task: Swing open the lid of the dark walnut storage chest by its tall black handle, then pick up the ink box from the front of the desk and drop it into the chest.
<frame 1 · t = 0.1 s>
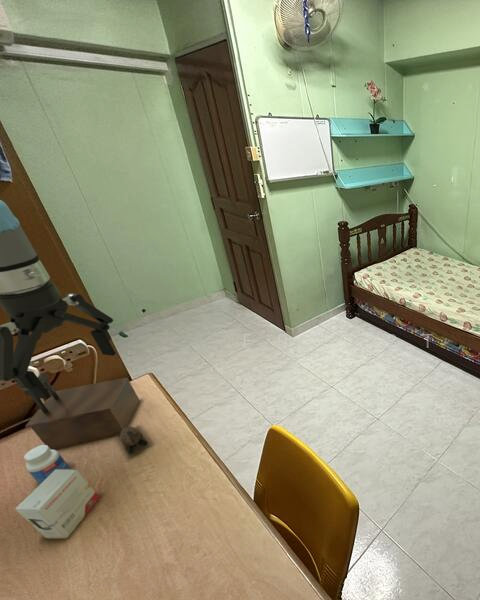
hand: (79, 373, 68), 30 cm above the table, tool pointing down, fingers open, 13 cm apart
chest: (99, 425, 91), on the table
figurine: (138, 447, 85), on the table
lid: (73, 389, 84), point 14 cm above the table, hinge at 0.0°
ink box: (75, 518, 70), on the table
pill bottle: (57, 477, 78), on the table
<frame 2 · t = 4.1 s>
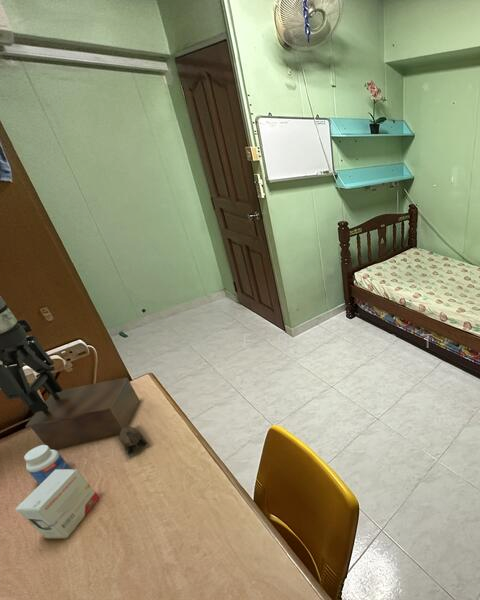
hand: (48, 400, 83), 12 cm above the table, tool pointing down, fingers closed on lid, 6 cm apart
lid: (73, 389, 84), point 15 cm above the table, hinge at 0.0°, touching gripper
everything else where it was.
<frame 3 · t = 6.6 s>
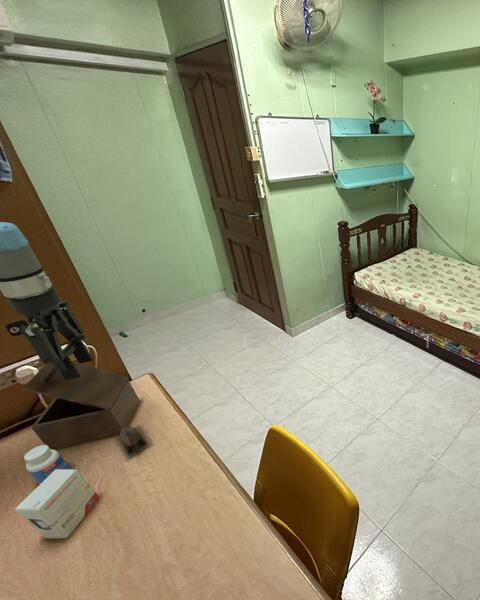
hand: (79, 369, 82), 21 cm above the table, tool pointing down, fingers closed on lid, 6 cm apart
lid: (89, 371, 83), point 19 cm above the table, hinge at 42.6°, touching gripper
everything else where it was.
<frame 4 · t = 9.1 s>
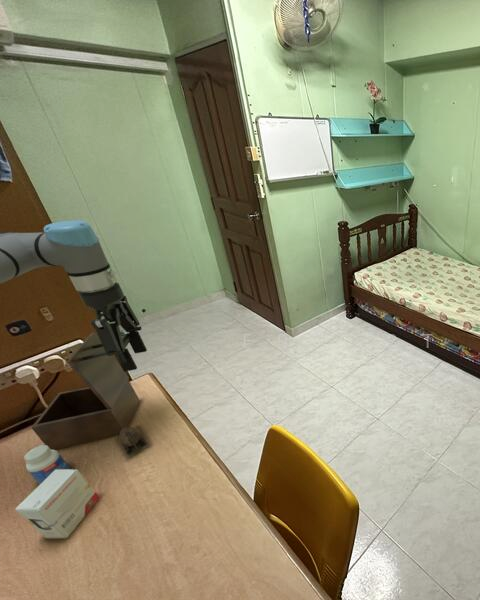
hand: (136, 360, 86), 20 cm above the table, tool pointing down, fingers open, 7 cm apart
lid: (119, 365, 85), point 19 cm above the table, hinge at 83.5°
everything else where it was.
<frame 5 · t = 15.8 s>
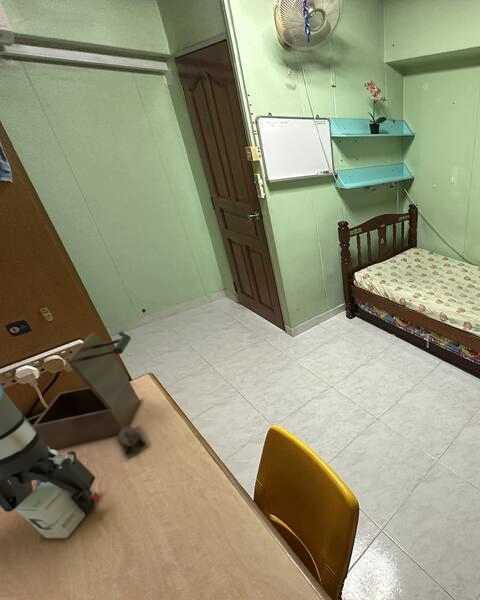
hand: (70, 513, 69), 2 cm above the table, tool pointing down, fingers closed on ink box, 6 cm apart
ink box: (76, 518, 70), on the table, touching gripper
everything else where it was.
when the fingers open (11 cm above the table, at t = 24.4 s): ink box drops 8 cm, resting on chest.
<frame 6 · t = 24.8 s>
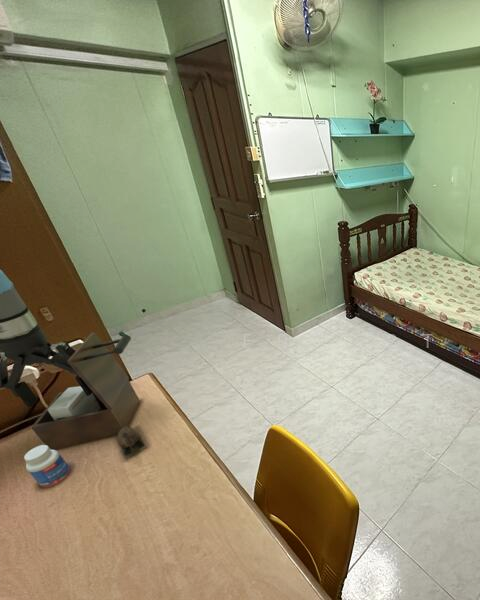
hand: (62, 397, 84), 12 cm above the table, tool pointing down, fingers open, 12 cm apart
ink box: (87, 426, 90), point 1 cm above the table, touching chest
everything else where it was.
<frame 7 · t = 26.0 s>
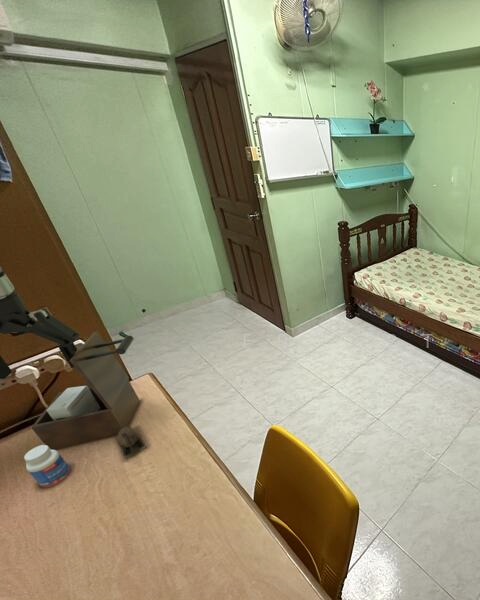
hand: (42, 369, 79), 22 cm above the table, tool pointing down, fingers open, 13 cm apart
lid: (121, 365, 86), point 19 cm above the table, hinge at 85.4°
everything else where it was.
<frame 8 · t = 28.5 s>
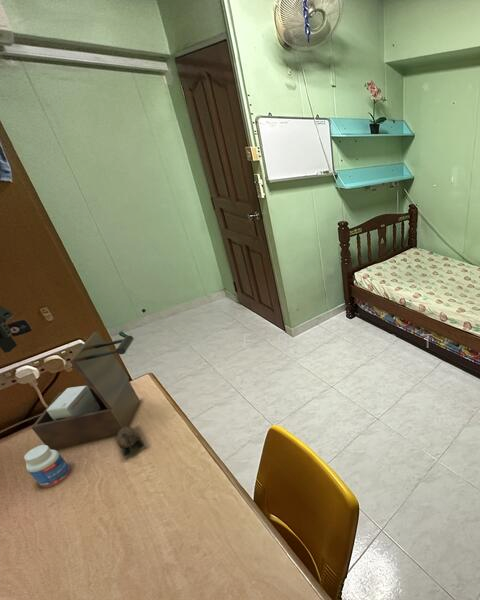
nothing on the table moved.
at the end: lid at +85° (first picture: +0°); ink box inside the target area in the chest (2.6 cm from its centre), point 0.6 cm above the chest's base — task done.
